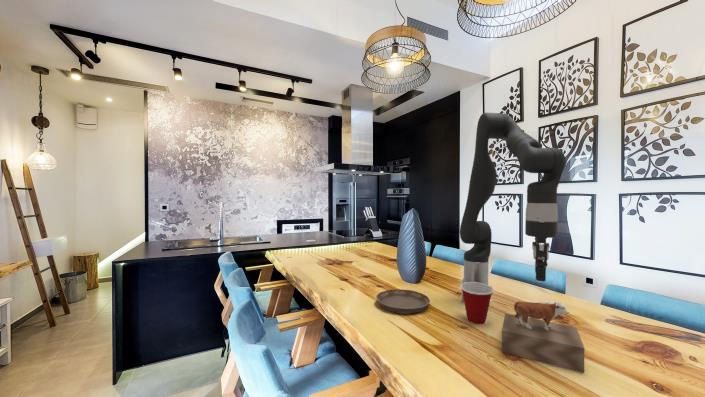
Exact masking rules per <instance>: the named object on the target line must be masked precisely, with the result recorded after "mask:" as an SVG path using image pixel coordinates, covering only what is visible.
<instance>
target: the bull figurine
mask: <svg viewBox="0 0 705 397" xmlns="http://www.w3.org/2000/svg"><path fill="white" fill-rule="evenodd" d="M513 308H514V311H515V314H514V315H515V318H516V323H517V324H518V325H521V324H523V322H524V323H525V325H526V327H527V328H529V329H530V330H532V328H531V327H530V325H529V324H528V318H531V319H532V321H534V319H538V320H543V321H545V326H544V329H546V331H549V329H548V328H551V327H550V326H549V322H552V320H554V319H555V318H556V317H558V315H563V314H564V315H569V313H570V311H569V310H568V309H567V307H566V305H565V304H564V303H562V301H560V300H559V301H556V302H555V301H552V300H547V301H541V302H532V301H531V302H530V301H521V300H520V301H519V300H518V301H516V302H515V303H514V304H513Z"/></svg>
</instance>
